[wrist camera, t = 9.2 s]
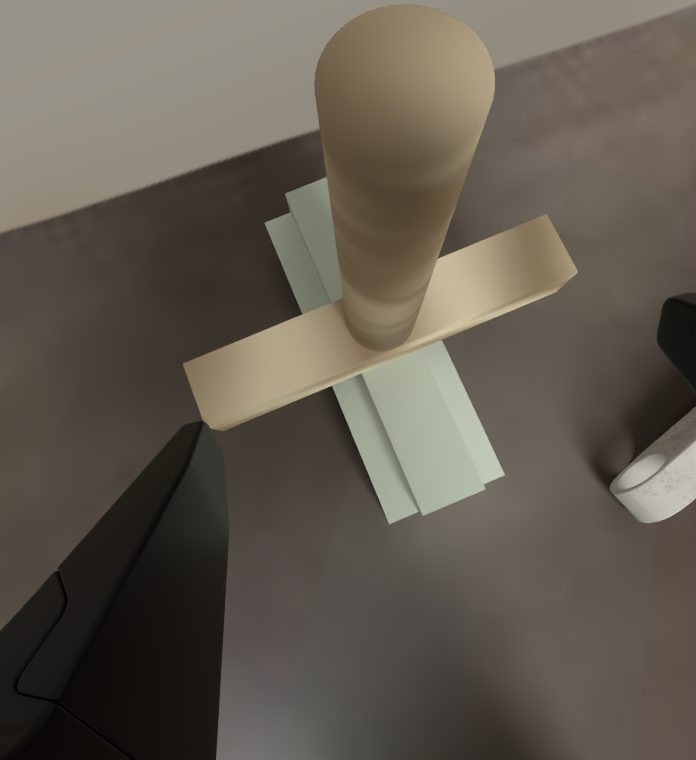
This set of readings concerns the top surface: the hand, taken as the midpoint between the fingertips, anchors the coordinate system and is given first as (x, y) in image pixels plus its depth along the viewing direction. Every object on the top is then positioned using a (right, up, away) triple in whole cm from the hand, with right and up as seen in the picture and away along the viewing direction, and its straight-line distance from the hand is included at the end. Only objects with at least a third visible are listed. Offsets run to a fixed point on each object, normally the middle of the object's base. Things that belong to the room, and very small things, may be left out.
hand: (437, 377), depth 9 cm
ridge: (0, +1, +14) cm, 14 cm away
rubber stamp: (0, +2, +10) cm, 10 cm away
